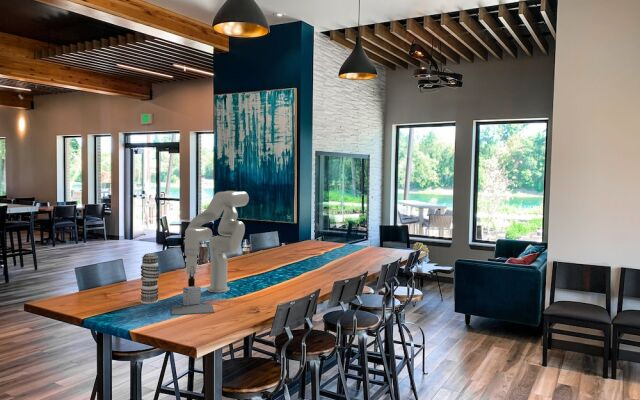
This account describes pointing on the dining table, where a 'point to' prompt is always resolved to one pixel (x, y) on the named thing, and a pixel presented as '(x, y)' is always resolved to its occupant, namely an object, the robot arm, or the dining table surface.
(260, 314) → the dining table surface
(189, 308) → the charcoal mat
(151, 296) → the decorative candle
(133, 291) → the dining table surface
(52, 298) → the dining table surface
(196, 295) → the medicine box
